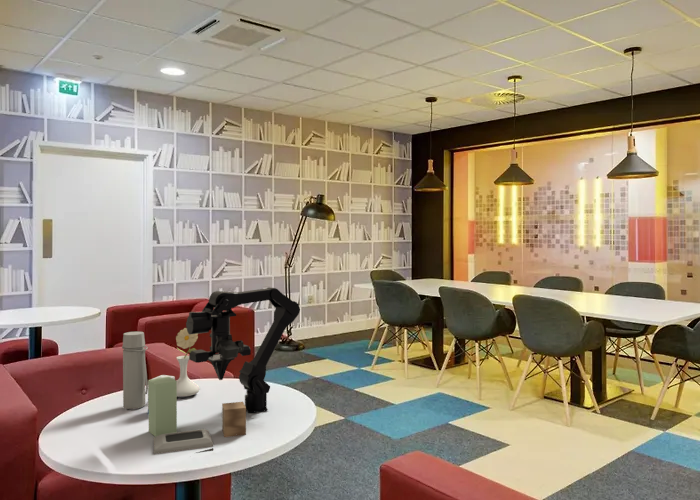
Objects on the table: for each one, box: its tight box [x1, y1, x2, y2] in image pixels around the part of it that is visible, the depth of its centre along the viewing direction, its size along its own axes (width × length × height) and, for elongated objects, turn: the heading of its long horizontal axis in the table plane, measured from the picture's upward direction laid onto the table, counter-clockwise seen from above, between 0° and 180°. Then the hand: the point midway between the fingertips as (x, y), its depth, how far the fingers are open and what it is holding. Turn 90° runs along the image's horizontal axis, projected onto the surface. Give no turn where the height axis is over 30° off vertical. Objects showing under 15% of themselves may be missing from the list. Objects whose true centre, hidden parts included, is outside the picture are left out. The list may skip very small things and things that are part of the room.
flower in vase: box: [175, 327, 201, 398], centre depth 195 cm, size 13×11×25 cm
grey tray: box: [153, 428, 214, 455], centre depth 148 cm, size 10×4×15 cm
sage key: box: [147, 377, 178, 437], centre depth 156 cm, size 6×6×15 cm
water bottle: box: [121, 331, 149, 410], centre depth 182 cm, size 9×8×25 cm
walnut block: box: [221, 401, 247, 438], centre depth 156 cm, size 6×6×9 cm
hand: (220, 379), depth 172 cm, fingers closed
